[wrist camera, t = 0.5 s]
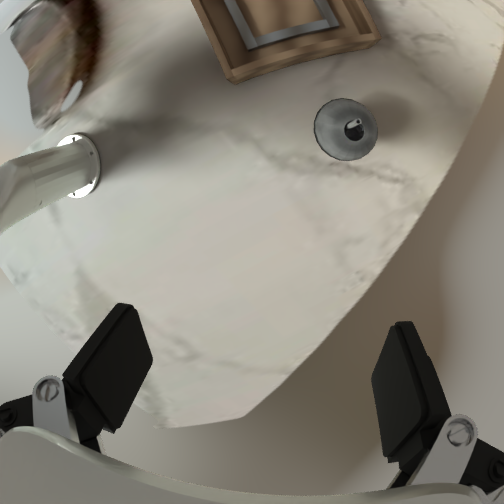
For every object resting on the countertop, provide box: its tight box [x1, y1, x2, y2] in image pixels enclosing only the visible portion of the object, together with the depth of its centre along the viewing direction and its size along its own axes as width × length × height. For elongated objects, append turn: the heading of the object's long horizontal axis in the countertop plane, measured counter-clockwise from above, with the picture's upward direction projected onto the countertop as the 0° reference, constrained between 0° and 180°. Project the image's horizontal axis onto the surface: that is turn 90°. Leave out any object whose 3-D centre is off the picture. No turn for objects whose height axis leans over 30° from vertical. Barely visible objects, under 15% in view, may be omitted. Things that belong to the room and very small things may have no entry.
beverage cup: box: [314, 98, 378, 161], centre depth 29 cm, size 7×7×20 cm
